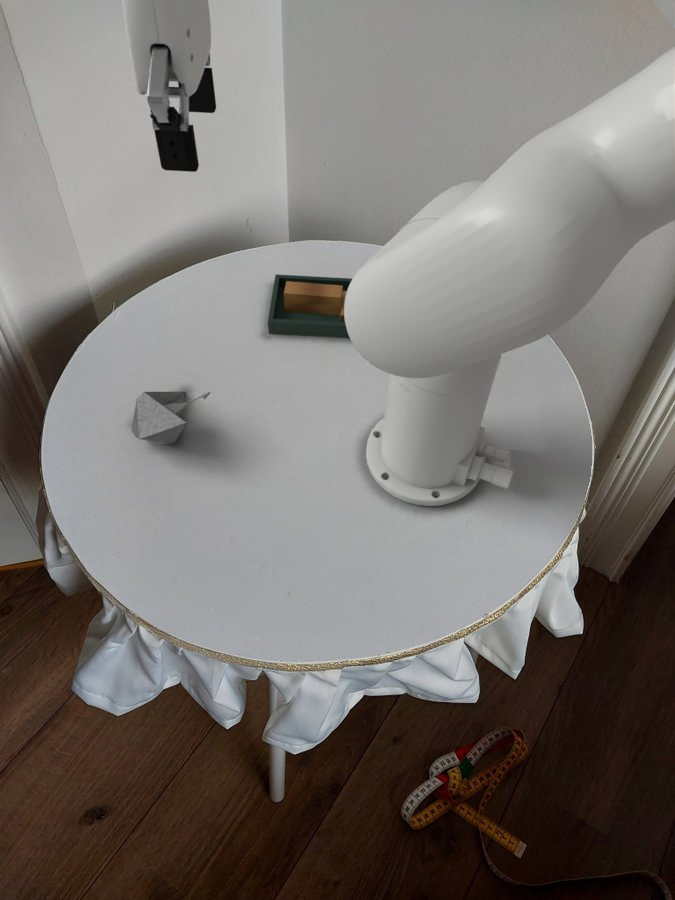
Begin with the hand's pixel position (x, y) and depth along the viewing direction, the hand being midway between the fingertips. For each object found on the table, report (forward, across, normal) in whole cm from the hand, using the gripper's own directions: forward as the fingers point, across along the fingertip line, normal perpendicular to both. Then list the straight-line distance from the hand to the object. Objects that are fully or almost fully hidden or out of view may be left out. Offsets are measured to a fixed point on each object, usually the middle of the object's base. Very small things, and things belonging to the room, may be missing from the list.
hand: (190, 138), depth 66 cm
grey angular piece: (+26, +14, -3) cm, 30 cm away
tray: (+26, -7, +14) cm, 31 cm away
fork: (+26, -7, +14) cm, 30 cm away
